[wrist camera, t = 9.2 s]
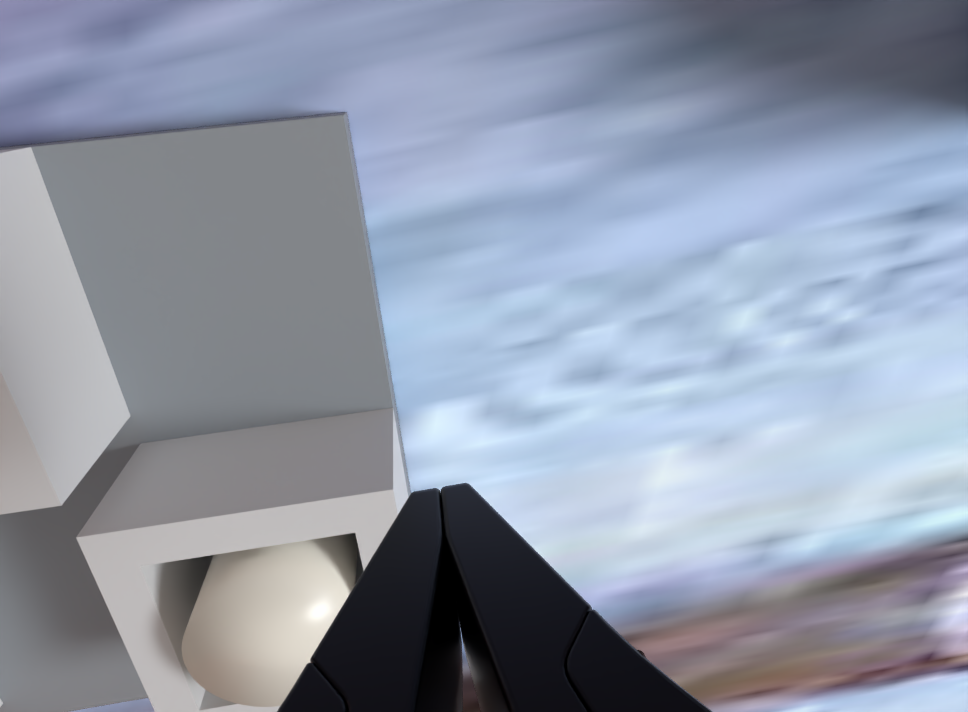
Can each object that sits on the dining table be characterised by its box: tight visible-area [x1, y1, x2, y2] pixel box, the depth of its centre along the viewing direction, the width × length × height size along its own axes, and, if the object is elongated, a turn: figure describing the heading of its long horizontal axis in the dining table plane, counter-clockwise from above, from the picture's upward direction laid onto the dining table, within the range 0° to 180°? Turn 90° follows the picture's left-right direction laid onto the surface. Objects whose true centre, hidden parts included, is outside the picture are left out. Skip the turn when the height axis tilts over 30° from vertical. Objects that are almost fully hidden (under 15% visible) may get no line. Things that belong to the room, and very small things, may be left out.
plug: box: [182, 533, 358, 707], centre depth 19 cm, size 4×4×5 cm
